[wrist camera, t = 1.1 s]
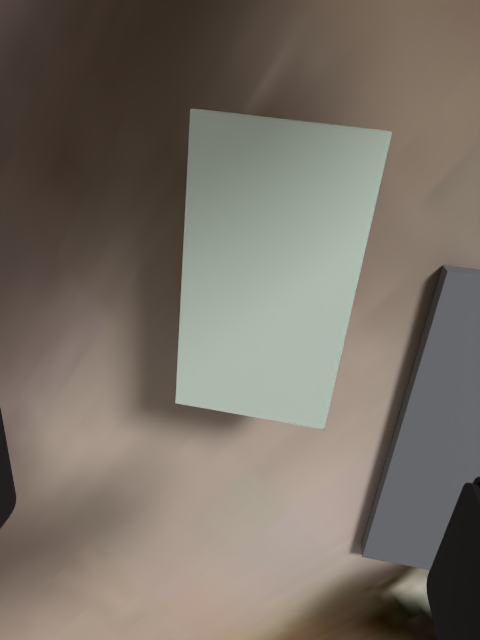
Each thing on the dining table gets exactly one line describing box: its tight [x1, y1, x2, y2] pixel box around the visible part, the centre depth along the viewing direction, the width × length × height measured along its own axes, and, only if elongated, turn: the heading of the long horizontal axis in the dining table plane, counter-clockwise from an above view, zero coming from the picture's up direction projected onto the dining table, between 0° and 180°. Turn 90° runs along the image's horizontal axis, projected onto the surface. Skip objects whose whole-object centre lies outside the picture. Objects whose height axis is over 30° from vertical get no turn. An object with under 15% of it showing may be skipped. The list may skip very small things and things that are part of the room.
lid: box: [175, 109, 392, 429], centre depth 20 cm, size 13×7×3 cm, turn 174°
